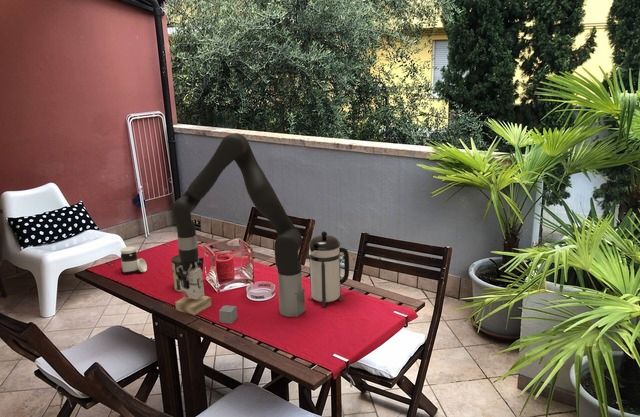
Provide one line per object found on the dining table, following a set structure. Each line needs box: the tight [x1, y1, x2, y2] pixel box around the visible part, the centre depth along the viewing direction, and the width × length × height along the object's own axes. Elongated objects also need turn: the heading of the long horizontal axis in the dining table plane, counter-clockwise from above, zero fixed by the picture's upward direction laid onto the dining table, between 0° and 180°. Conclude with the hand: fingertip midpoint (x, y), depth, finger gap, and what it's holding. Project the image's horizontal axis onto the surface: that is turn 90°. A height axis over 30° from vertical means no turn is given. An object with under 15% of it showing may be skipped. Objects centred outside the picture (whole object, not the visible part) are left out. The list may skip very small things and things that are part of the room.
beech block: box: [174, 295, 212, 316], centre depth 209 cm, size 10×10×4 cm
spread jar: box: [120, 246, 148, 275], centre depth 249 cm, size 12×11×12 cm
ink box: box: [180, 267, 205, 300], centre depth 207 cm, size 9×5×12 cm, turn 62°
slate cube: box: [218, 304, 238, 325], centre depth 197 cm, size 5×5×5 cm
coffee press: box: [307, 231, 350, 308], centre depth 210 cm, size 17×16×30 cm
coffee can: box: [170, 254, 181, 293], centre depth 228 cm, size 10×10×14 cm
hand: (191, 285), depth 207 cm, fingers closed on ink box, 5 cm apart
